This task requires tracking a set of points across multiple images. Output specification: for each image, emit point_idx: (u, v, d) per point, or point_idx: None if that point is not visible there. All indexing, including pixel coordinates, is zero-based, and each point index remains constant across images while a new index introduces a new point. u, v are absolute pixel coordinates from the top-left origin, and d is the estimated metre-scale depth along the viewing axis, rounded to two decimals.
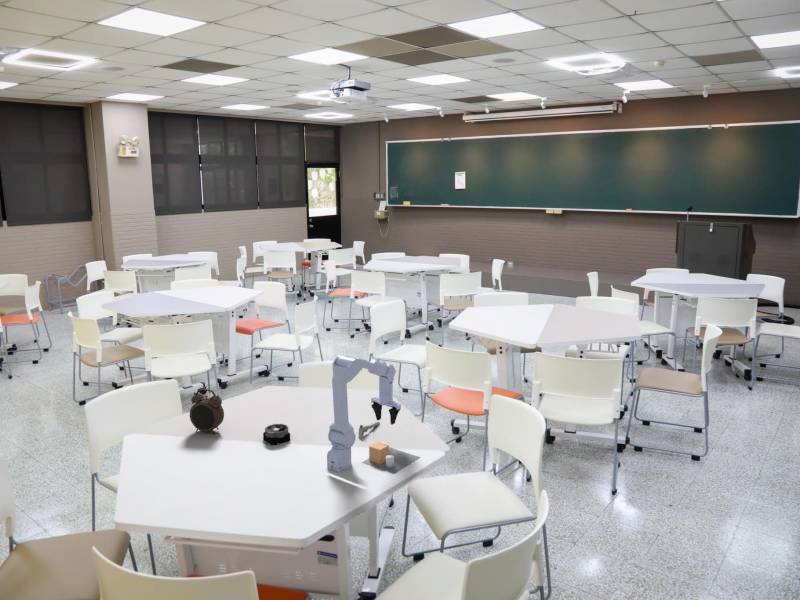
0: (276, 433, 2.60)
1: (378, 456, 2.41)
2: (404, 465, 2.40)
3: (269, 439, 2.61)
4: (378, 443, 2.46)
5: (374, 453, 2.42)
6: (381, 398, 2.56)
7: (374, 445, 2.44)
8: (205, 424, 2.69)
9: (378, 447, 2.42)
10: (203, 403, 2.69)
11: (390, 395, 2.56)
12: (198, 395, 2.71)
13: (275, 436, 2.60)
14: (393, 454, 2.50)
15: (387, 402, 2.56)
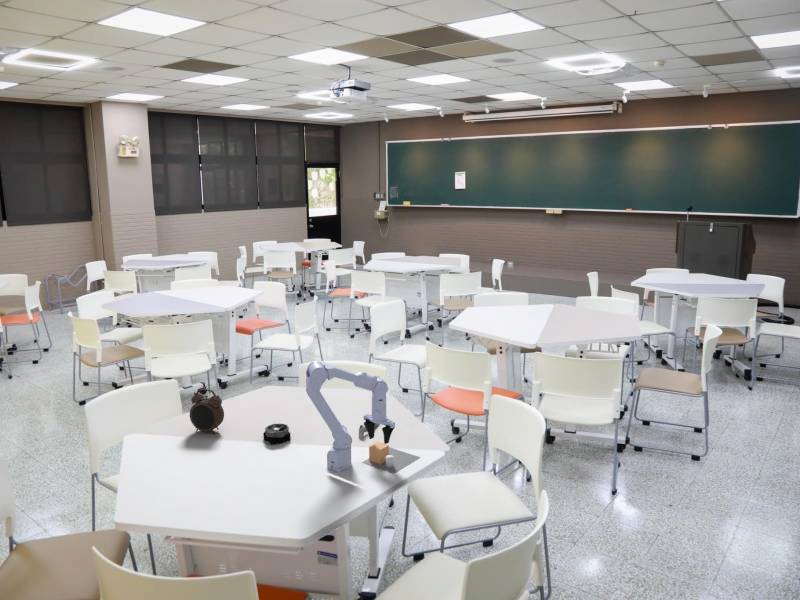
0: (276, 433, 2.61)
1: (378, 456, 2.41)
2: (404, 465, 2.40)
3: (269, 439, 2.61)
4: (378, 443, 2.46)
5: (374, 453, 2.42)
6: (374, 416, 2.39)
7: (374, 445, 2.44)
8: (205, 424, 2.69)
9: (378, 447, 2.42)
10: (203, 403, 2.69)
11: (383, 412, 2.39)
12: (198, 395, 2.71)
13: (275, 436, 2.61)
14: (393, 454, 2.50)
15: (380, 420, 2.39)
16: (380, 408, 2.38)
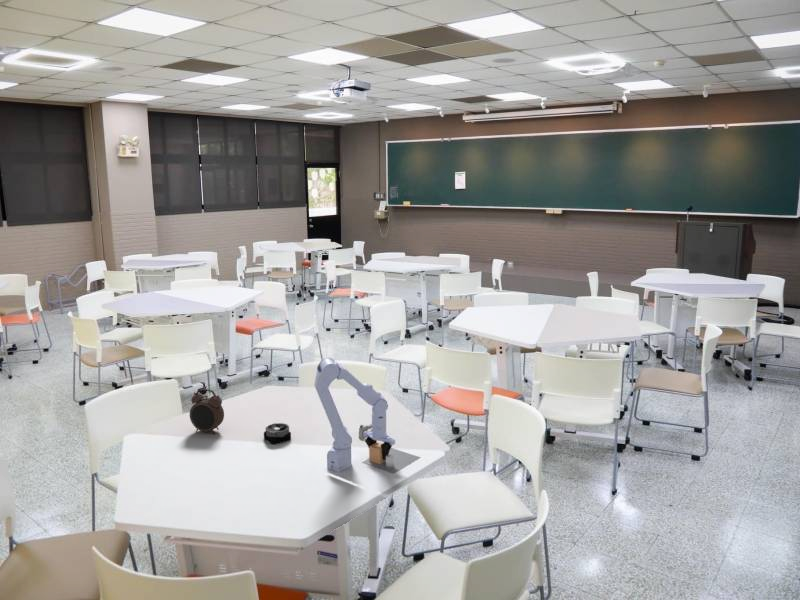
0: (277, 432, 2.61)
1: (378, 456, 2.41)
2: (404, 465, 2.40)
3: (270, 438, 2.62)
4: (378, 443, 2.46)
5: (374, 453, 2.42)
6: (374, 433, 2.40)
7: (374, 445, 2.44)
8: (205, 424, 2.69)
9: (378, 447, 2.42)
10: (203, 403, 2.69)
11: (383, 429, 2.40)
12: (198, 395, 2.71)
13: (276, 435, 2.61)
14: (393, 454, 2.50)
15: (380, 437, 2.40)
16: (380, 425, 2.39)
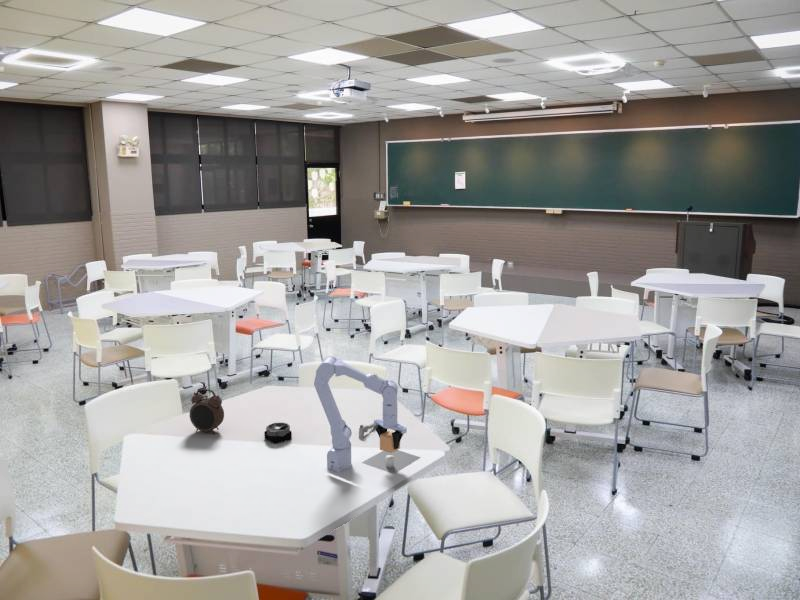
0: (278, 432, 2.62)
1: (389, 445, 2.34)
2: (404, 465, 2.40)
3: (271, 438, 2.62)
4: (389, 432, 2.39)
5: (385, 442, 2.35)
6: (385, 421, 2.33)
7: (385, 434, 2.37)
8: (205, 424, 2.69)
9: (389, 436, 2.35)
10: (203, 403, 2.69)
11: (395, 418, 2.33)
12: (198, 395, 2.71)
13: (277, 435, 2.62)
14: (393, 454, 2.50)
15: (391, 425, 2.33)
16: (388, 413, 2.32)
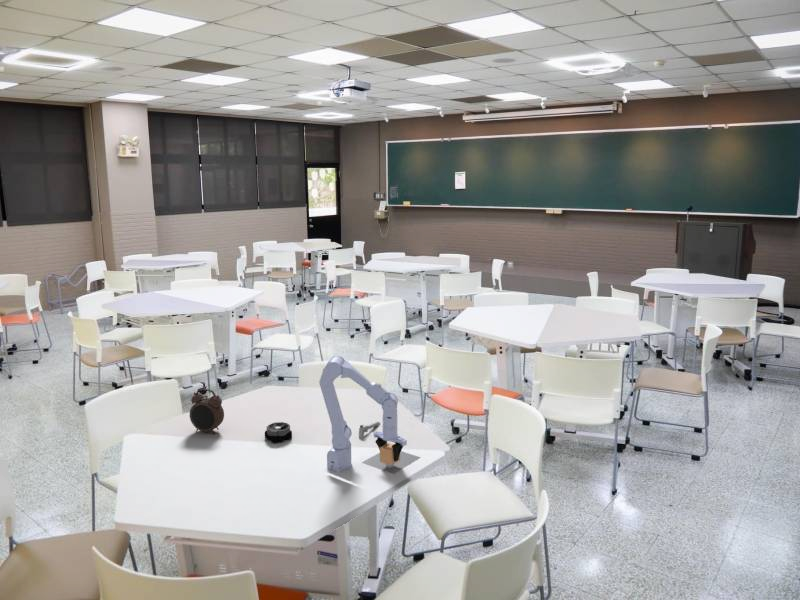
0: (279, 431, 2.62)
1: (389, 457, 2.35)
2: (404, 465, 2.40)
3: (272, 437, 2.63)
4: (389, 444, 2.40)
5: (385, 454, 2.36)
6: (385, 433, 2.34)
7: (385, 446, 2.38)
8: (205, 424, 2.69)
9: (389, 448, 2.36)
10: (203, 403, 2.69)
11: (395, 430, 2.34)
12: (198, 395, 2.71)
13: (278, 434, 2.62)
14: None
15: (391, 438, 2.34)
16: (388, 426, 2.33)
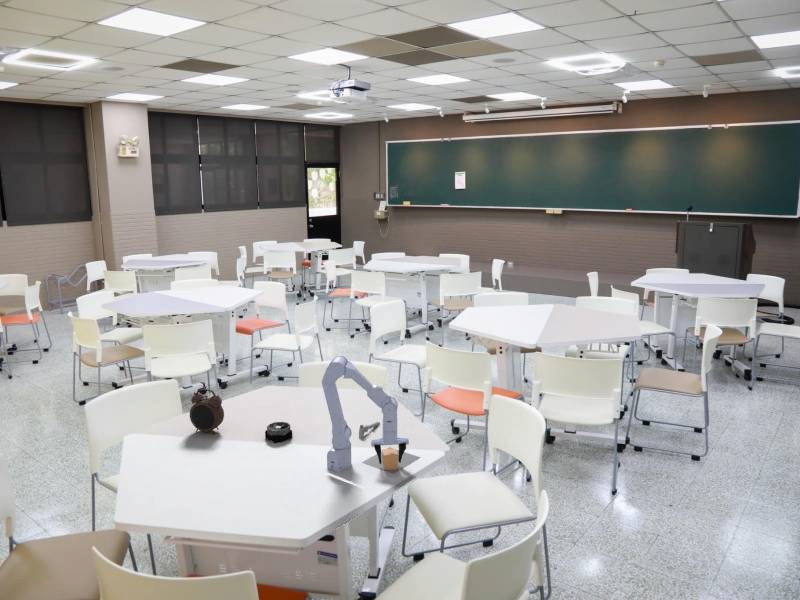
0: (279, 431, 2.63)
1: (395, 462, 2.36)
2: (404, 465, 2.40)
3: (272, 437, 2.63)
4: (385, 450, 2.39)
5: (390, 460, 2.36)
6: (390, 438, 2.34)
7: (385, 453, 2.37)
8: (205, 424, 2.69)
9: (392, 453, 2.37)
10: (203, 403, 2.69)
11: None
12: (198, 395, 2.71)
13: (278, 434, 2.63)
14: None
15: (396, 440, 2.36)
16: (388, 430, 2.33)
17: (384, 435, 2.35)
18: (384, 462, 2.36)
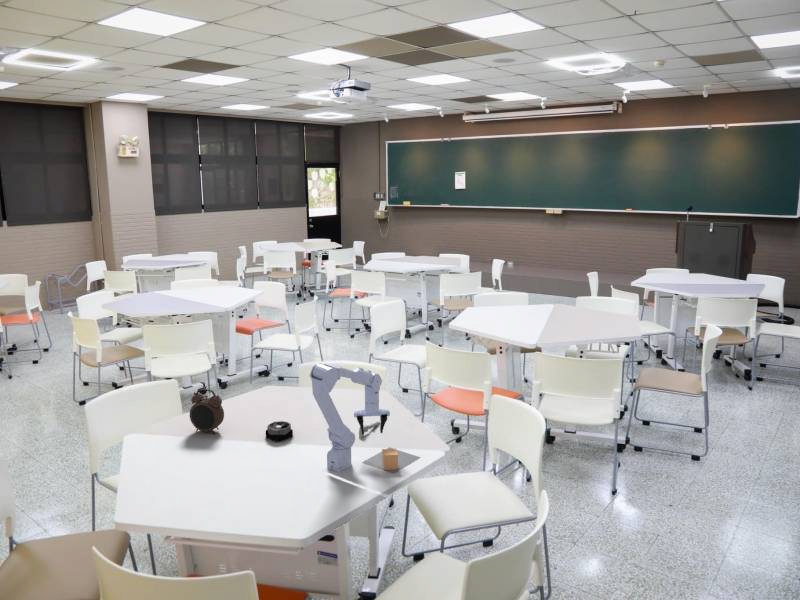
0: (280, 430, 2.64)
1: (395, 462, 2.36)
2: (404, 465, 2.40)
3: (273, 436, 2.64)
4: (385, 450, 2.39)
5: (390, 460, 2.36)
6: (372, 409, 2.46)
7: (385, 453, 2.37)
8: (205, 424, 2.69)
9: (392, 453, 2.37)
10: (203, 403, 2.69)
11: (378, 403, 2.48)
12: (198, 395, 2.71)
13: (279, 433, 2.64)
14: None
15: (377, 411, 2.47)
16: (376, 400, 2.46)
17: (366, 406, 2.46)
18: (384, 462, 2.36)
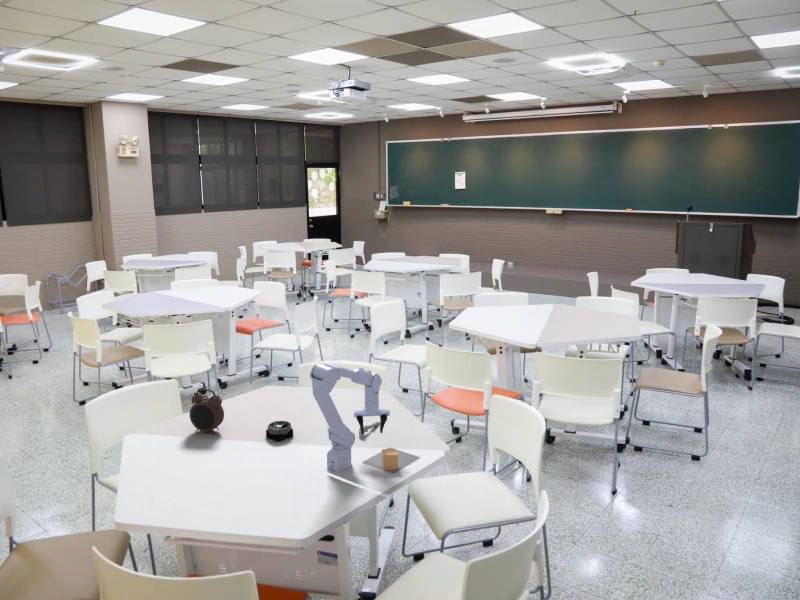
0: (281, 430, 2.64)
1: (395, 462, 2.36)
2: (404, 465, 2.40)
3: (274, 436, 2.64)
4: (385, 450, 2.39)
5: (390, 460, 2.36)
6: (372, 409, 2.46)
7: (385, 453, 2.37)
8: (205, 424, 2.69)
9: (392, 453, 2.37)
10: (203, 403, 2.69)
11: (378, 403, 2.48)
12: (198, 395, 2.71)
13: (280, 433, 2.64)
14: None
15: (377, 411, 2.47)
16: (376, 400, 2.46)
17: (366, 406, 2.46)
18: (384, 462, 2.36)
